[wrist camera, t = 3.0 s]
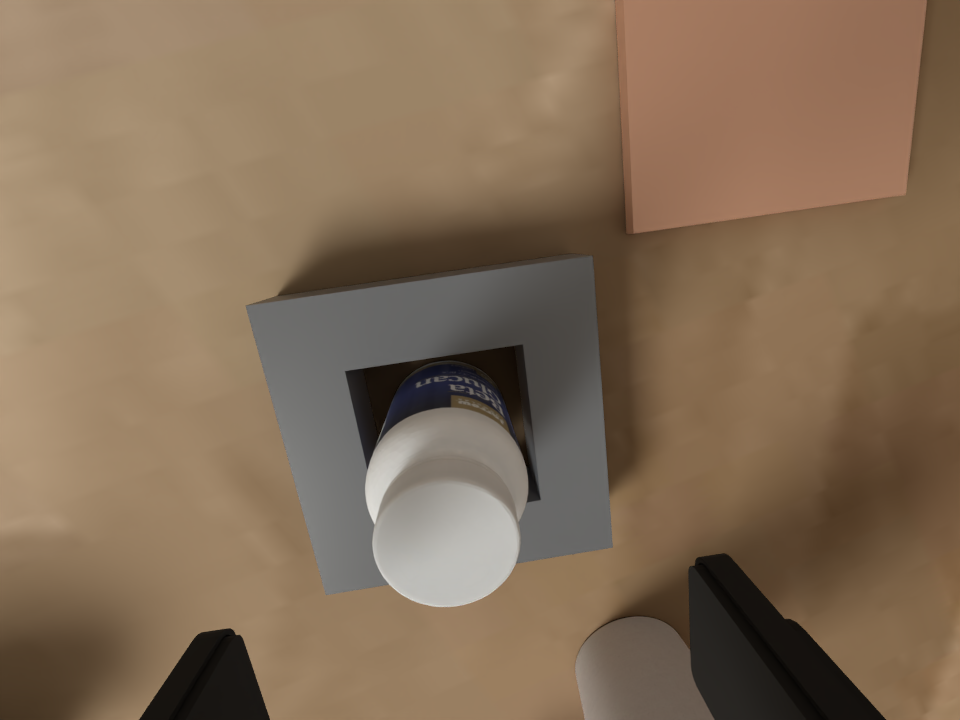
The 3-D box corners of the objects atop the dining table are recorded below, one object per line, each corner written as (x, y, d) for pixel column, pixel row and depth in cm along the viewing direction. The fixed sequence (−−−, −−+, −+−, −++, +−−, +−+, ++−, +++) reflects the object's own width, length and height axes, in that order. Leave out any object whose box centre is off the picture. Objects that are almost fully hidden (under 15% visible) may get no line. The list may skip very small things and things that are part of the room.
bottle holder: (276, 296, 19) (245, 305, 16) (571, 253, 20) (592, 255, 17) (341, 549, 23) (325, 595, 20) (591, 509, 23) (612, 547, 20)
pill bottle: (506, 357, 21) (555, 453, 11) (502, 462, 22) (543, 626, 13) (388, 356, 20) (338, 456, 11) (392, 464, 22) (349, 634, 12)
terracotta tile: (610, -101, 16) (618, -118, 16) (921, -138, 17) (944, -156, 16) (626, 234, 20) (633, 233, 19) (888, 196, 20) (905, 194, 19)
